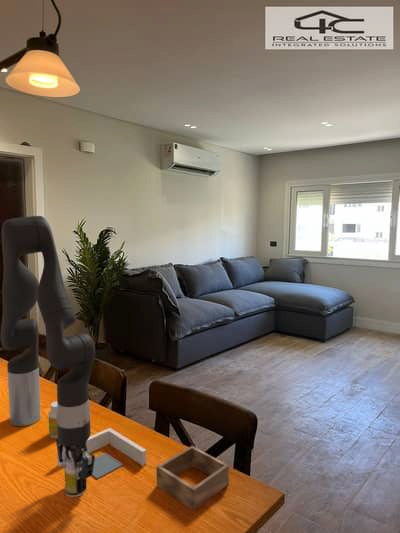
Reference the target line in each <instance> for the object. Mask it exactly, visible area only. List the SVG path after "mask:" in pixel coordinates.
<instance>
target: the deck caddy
mask: <svg viewBox="0 0 400 533" xmlns="http://www.w3.org/2000/svg"><path fill="white" fill-rule="evenodd" d="M190 467H194V468H195V469H197V470H198V471H200V472H202V473H204V474H206V475H207V477H206V478H204V479H203V480H202V481H200V482H199V483H197V484H195V486H193V485H191V484H190V483H188V482H187V481H185V479H182V478H180V477H179V475H180V474H181V473H183V472H185V471H186V470H187V469H189V468H190ZM229 469H230V465H229V464H227V463H226V462H224V461H222V460H220V459H218V458H216V457H214V456H212V455H211V454H208V453H207V452H205V451H203V450H201V449H199V448H197V447H196V446H193V445H190V446H189V447H187V448H186V449H184V450H183V451H181V452H179V453H177V454H175V455H174V456H172V457H171V458H169V459H167V460H166V461H164V462H162V463H161V464H159V465H156V486H157V487H158V488H160V489H161V490H163V491H164V492H166V493H167V494H168V495H170V496H171V497H173V498H174V499H175V500H177V501H178V502H180V503H181V504H183V505H185V506H186V507H187V508H189V509H190V510H192V511H196V510H197V509H198V508H199V507H201V506H202V505H203V504H205V503H206V502H208V501H209V500H210V499H211V498H212V497H214V496H215V495H216V494H218V493H219V492H221V491H222V490H223V489H224V488H226V487H227V486H228V485H229V482H230V478H229V477H230V470H229Z"/></svg>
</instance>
